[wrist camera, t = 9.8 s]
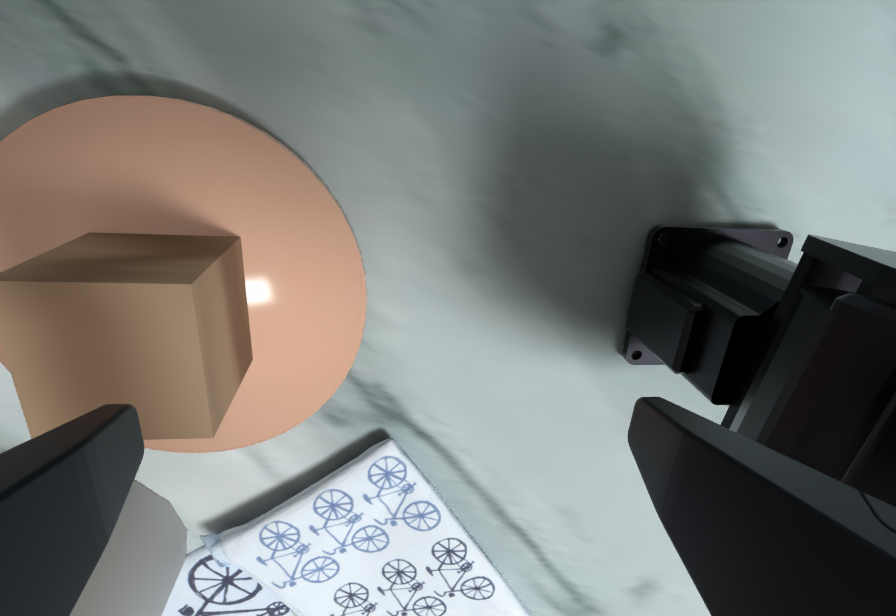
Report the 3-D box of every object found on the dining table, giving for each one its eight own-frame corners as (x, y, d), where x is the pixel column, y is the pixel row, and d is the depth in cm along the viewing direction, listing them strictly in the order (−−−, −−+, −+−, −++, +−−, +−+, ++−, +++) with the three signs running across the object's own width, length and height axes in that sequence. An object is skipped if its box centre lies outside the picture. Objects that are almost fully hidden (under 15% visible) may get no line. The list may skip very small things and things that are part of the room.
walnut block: (240, 236, 18) (191, 284, 13) (253, 359, 20) (213, 438, 15) (89, 232, 17) (-19, 280, 13) (117, 360, 19) (32, 442, 14)
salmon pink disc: (367, 109, 18) (366, 110, 17) (367, 429, 23) (366, 448, 22) (-70, 80, 16) (-109, 78, 15) (39, 436, 21) (17, 457, 20)
